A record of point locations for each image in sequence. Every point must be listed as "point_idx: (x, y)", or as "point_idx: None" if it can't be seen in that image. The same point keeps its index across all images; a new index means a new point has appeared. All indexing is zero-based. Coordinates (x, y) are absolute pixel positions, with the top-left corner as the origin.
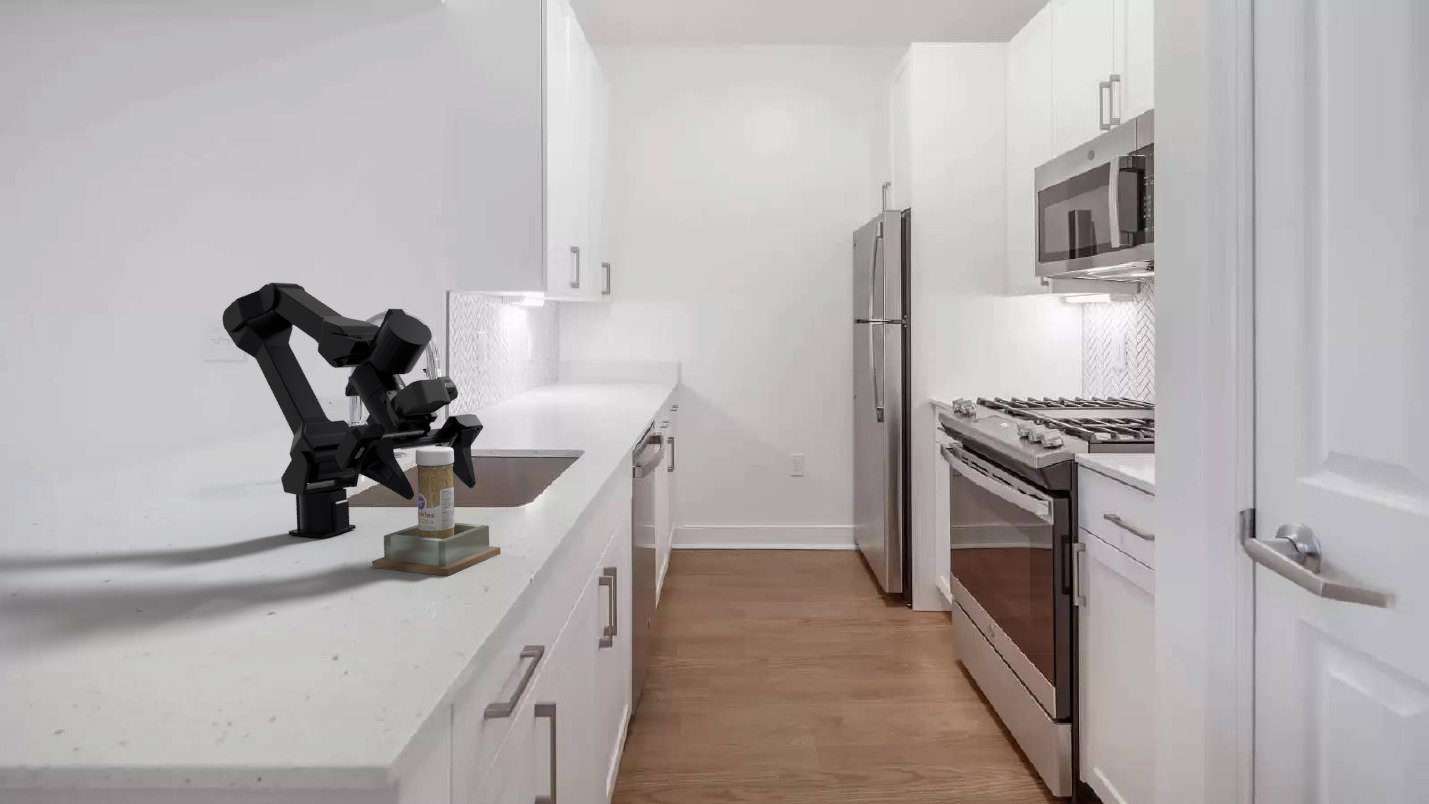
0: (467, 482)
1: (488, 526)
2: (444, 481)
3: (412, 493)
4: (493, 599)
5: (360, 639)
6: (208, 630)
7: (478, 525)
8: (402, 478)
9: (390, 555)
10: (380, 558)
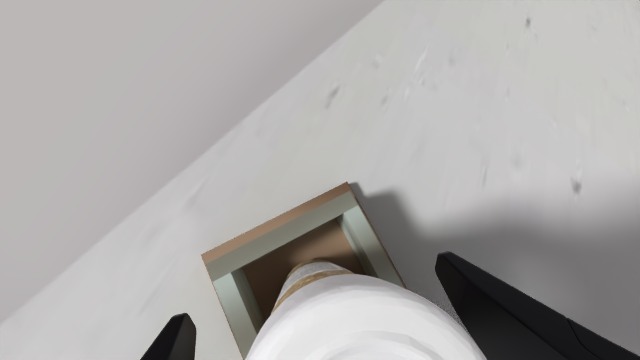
0: (189, 353)
1: (207, 264)
2: (330, 273)
3: (447, 253)
4: (346, 57)
5: (502, 45)
6: (637, 173)
7: (221, 283)
8: (512, 291)
9: None
10: None
